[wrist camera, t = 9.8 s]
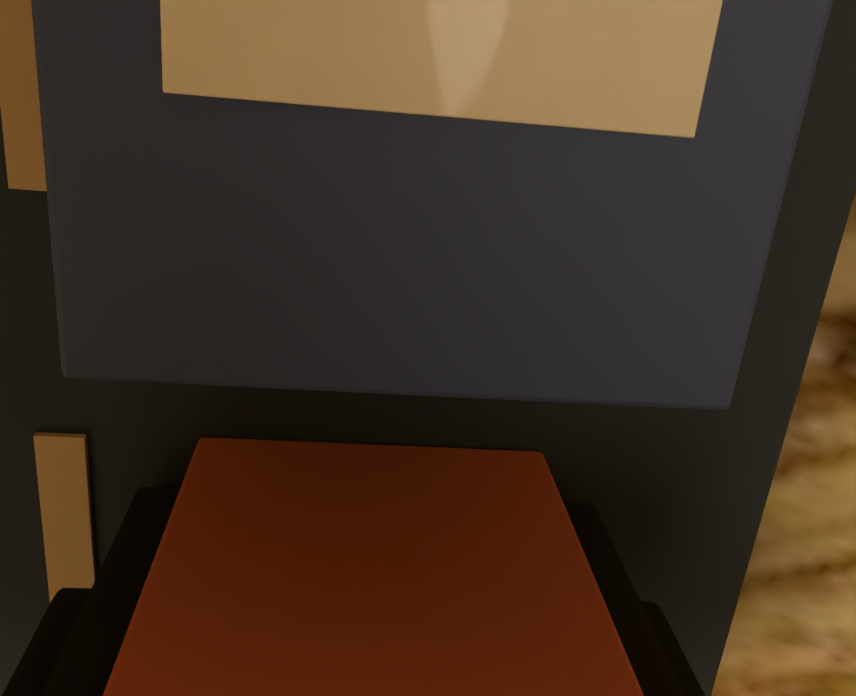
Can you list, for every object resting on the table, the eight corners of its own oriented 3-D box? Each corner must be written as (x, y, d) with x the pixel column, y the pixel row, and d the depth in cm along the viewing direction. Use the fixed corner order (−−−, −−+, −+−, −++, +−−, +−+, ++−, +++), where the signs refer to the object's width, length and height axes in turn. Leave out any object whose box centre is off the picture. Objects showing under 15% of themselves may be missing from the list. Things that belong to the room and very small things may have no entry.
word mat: (-200, -534, 7) (-257, -590, 6) (975, -348, 8) (1029, -379, 8) (30, 1031, 15) (15, 1076, 15) (602, 1011, 16) (612, 1052, 16)
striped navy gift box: (183, -253, 8) (-33, -575, 3) (645, -193, 8) (956, -415, 4) (191, 218, 9) (53, 388, 5) (574, 244, 10) (737, 419, 5)
